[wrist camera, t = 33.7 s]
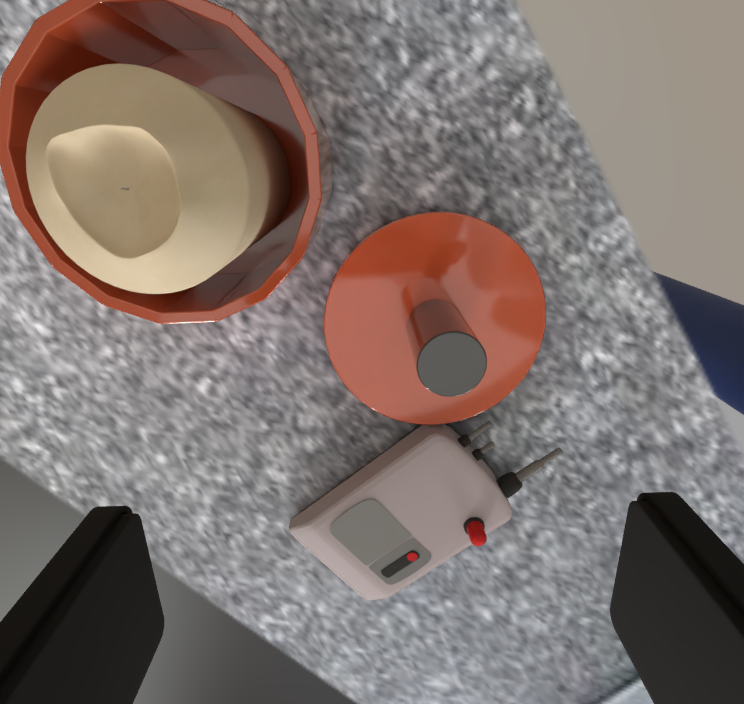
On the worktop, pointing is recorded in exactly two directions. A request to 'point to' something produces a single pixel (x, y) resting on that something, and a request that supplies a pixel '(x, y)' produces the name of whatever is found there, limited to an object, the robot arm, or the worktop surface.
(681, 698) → the robot arm
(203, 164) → the candle
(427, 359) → the lid
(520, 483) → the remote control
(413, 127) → the worktop surface
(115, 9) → the pot
